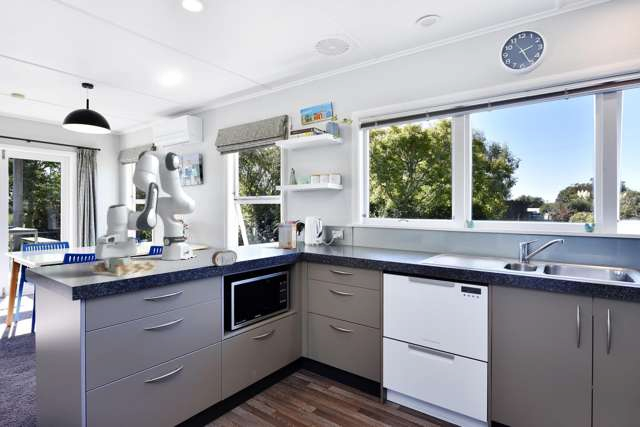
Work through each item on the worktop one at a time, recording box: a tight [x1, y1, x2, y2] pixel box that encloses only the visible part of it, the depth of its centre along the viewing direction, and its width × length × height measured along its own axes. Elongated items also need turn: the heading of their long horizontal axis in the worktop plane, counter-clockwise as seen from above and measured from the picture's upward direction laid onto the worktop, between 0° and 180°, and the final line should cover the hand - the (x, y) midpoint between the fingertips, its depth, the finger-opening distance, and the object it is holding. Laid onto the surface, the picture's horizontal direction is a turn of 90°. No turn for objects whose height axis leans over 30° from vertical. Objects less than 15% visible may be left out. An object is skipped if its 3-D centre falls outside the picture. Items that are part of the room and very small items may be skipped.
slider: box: [107, 257, 132, 271], centre depth 166 cm, size 4×12×6 cm, turn 71°
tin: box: [211, 249, 238, 267], centre depth 191 cm, size 15×3×8 cm, turn 141°
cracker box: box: [278, 222, 297, 249], centre depth 281 cm, size 14×6×21 cm, turn 58°
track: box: [92, 259, 156, 277], centre depth 170 cm, size 22×16×5 cm
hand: (117, 266), depth 165 cm, fingers open, 8 cm apart
